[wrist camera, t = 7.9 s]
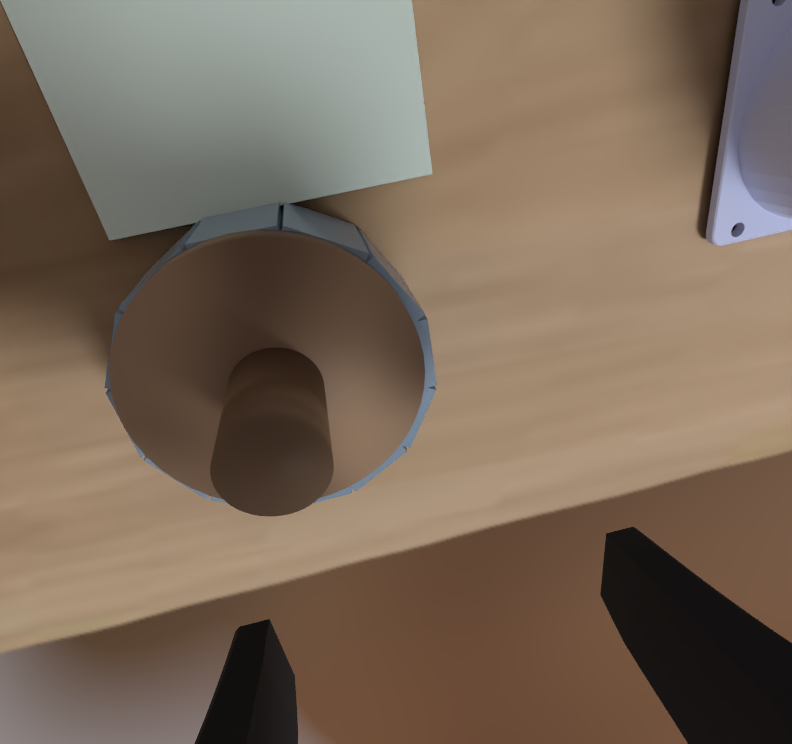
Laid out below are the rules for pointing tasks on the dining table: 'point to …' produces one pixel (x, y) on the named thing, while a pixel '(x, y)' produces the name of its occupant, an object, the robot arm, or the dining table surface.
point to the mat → (226, 101)
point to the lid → (267, 369)
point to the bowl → (325, 229)
